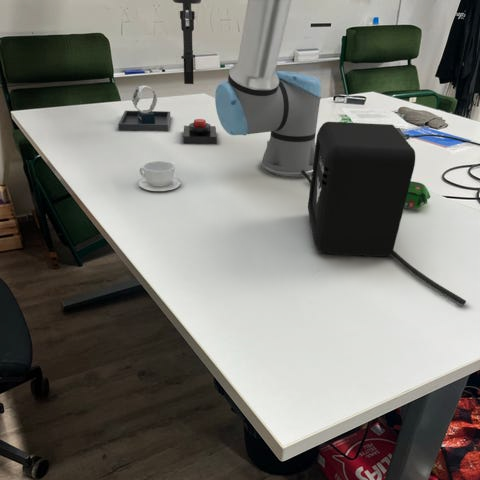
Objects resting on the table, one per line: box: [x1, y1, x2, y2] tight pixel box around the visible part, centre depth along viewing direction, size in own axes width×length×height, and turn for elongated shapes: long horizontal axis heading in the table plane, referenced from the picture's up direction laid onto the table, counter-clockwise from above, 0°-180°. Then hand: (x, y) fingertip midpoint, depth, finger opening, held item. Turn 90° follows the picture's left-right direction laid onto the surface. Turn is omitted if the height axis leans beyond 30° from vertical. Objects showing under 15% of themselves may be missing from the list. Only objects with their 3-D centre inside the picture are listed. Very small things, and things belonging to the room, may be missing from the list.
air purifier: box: [307, 121, 416, 258], centre depth 92 cm, size 20×15×20 cm
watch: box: [131, 85, 158, 124], centre depth 157 cm, size 6×8×11 cm
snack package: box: [404, 180, 431, 210], centre depth 111 cm, size 7×16×5 cm, turn 68°
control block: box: [182, 122, 218, 145], centre depth 148 cm, size 12×10×4 cm
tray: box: [117, 110, 171, 132], centre depth 160 cm, size 18×16×2 cm
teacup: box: [138, 160, 181, 192], centre depth 115 cm, size 10×10×5 cm
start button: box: [193, 118, 207, 127], centre depth 146 cm, size 4×4×2 cm
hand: (188, 83), depth 139 cm, fingers closed
